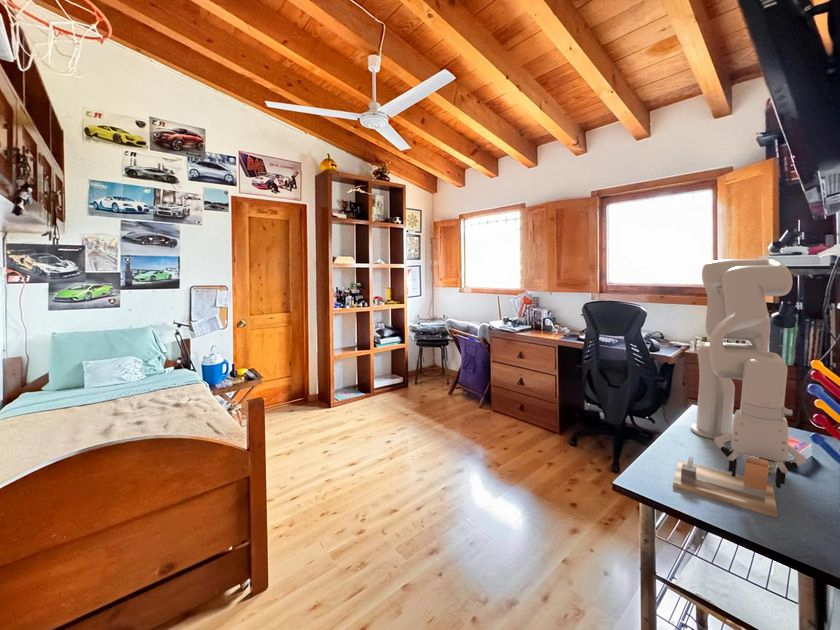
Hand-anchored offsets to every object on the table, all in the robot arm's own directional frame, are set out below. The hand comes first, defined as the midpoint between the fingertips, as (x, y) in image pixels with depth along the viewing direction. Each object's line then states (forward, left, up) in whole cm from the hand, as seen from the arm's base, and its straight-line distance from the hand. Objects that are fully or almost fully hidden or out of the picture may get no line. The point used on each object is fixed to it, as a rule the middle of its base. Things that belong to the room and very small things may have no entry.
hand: (755, 479), depth 91 cm
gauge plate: (-3, -6, -6) cm, 9 cm away
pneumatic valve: (-21, +4, -7) cm, 23 cm away
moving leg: (-2, 0, -4) cm, 5 cm away
